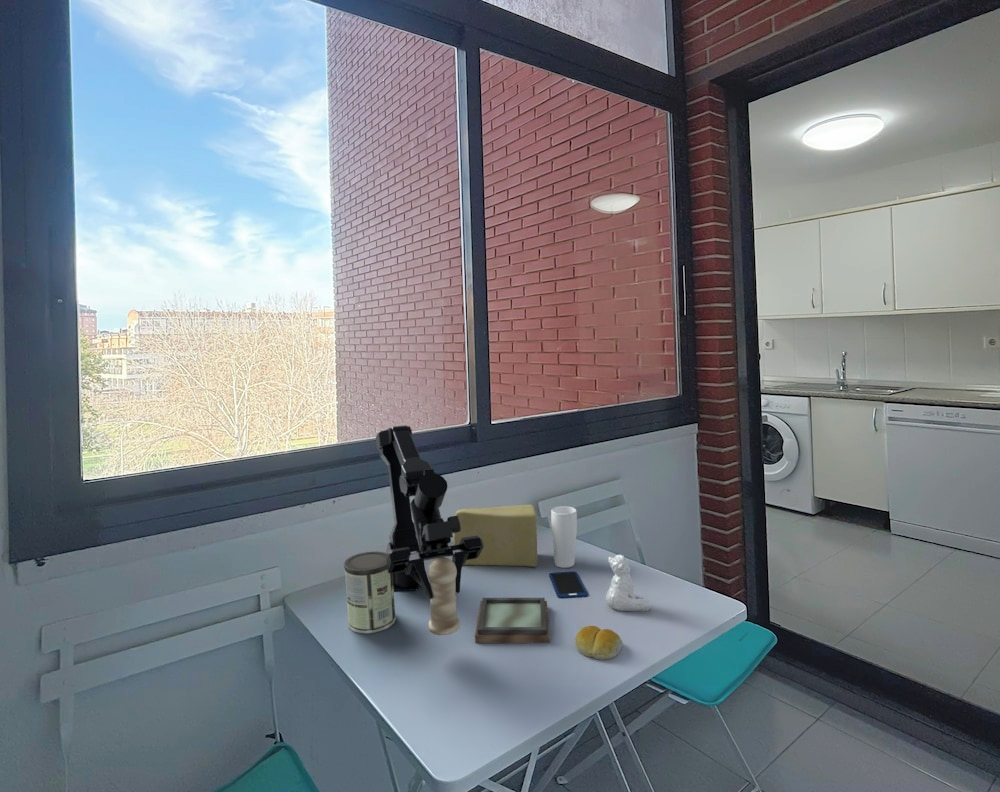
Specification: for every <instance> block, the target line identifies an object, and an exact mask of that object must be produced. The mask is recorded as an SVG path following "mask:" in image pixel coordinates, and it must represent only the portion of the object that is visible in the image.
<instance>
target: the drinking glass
mask: <svg viewBox="0 0 1000 792" xmlns="http://www.w3.org/2000/svg"><path fill="white" fill-rule="evenodd" d="M550 512H551V513H550V521H551V522H550V525H551V536H552V544H553V556H554V557H553V560H554V562H553V563H554V564H555V566H556V567H558V568H562V569H568V568H572V567H573V566H574V565H575V562H576V561H575V558H576V557H575V556H576V544H577V543H576V542H577V530H578V513H577V508H575V507H572V506H563V505H562V506H561V505H560V506H555V507H553V508H551V511H550Z"/></svg>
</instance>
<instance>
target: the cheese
mask: <svg viewBox="0 0 1000 792" xmlns="http://www.w3.org/2000/svg"><path fill="white" fill-rule="evenodd" d="M455 516H458V518H459V522H460V527H461V531H460V532H457V533H453V545H459V543H460V541H461V538H464V537H471V536H479V537H480V538H481V539H482V542H483V546H484V547H483V549H482V551H481V553H480V555H479V557H478V558H476V559H471V560H466V562H465V564H463V565H462V566H506V567H507V566H512V567H513V566H514V567H530V568H531V567H532V568H535V567H537V566H538V526H537V525H538V524H537V522H538V521H537V519H538V518H537V512H536V508H535V506H534V505H533V504H519V505H518V504H517V505H503V506H495V507H494V506H493V507H481V508H462V509H458V510H457V511H456V512H455Z"/></svg>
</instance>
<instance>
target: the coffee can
mask: <svg viewBox="0 0 1000 792" xmlns="http://www.w3.org/2000/svg"><path fill="white" fill-rule="evenodd" d="M387 559H388V553H386V552H385V551H366V552H360V553H357V554H355V555H352V556H349V557H347V559H345V560H344V563H343V568H344V576H345V579H344V580H345V590H346V591H345V592H346V606H347V617H348V618H347V619H348V621H347V622H348V623H347V624H348V629H350V631H352V632H355V633H358V634H375V633H380V632H382V631H384V630H387V629H389V628H390V627H392V625H393V624H394V623H395V622H396V607H395V606H396V605H395V590H394V588H393V573H392V574H390V573H388V568H387Z"/></svg>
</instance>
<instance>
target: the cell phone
mask: <svg viewBox="0 0 1000 792" xmlns="http://www.w3.org/2000/svg"><path fill="white" fill-rule="evenodd" d="M548 576H549V579H550V582H551V584H552V587H553V589H554V592H555V594H556V597H557V598H558V599H573V598H574V599H575V598H586V597H589V593H588V591H587V589H586V587H585V585H584V583H583V581H582V580H581V577H580V576H579V574H578V572H577V571H575V570H572V571H571V570H570V571H555V572H549V573H548Z"/></svg>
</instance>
